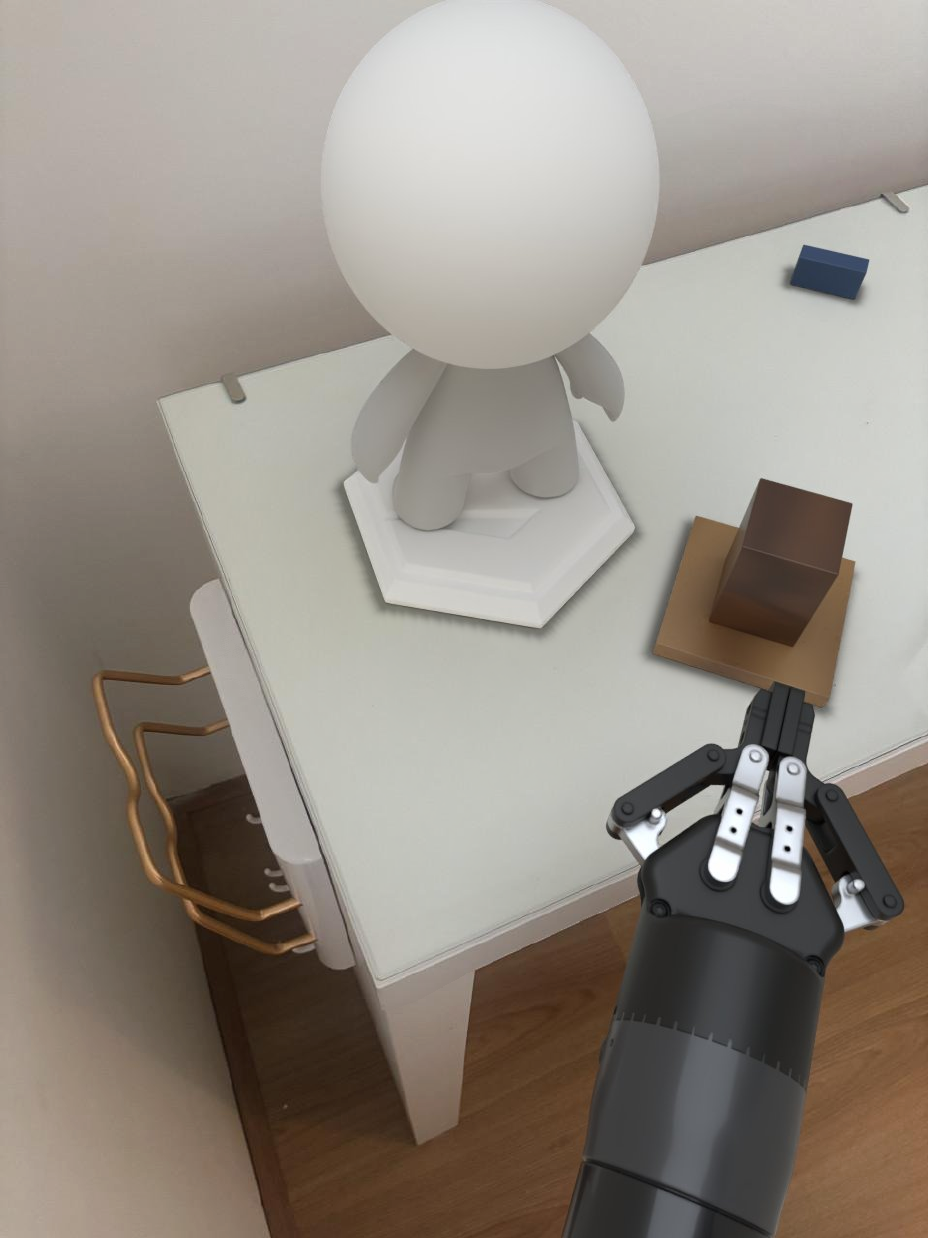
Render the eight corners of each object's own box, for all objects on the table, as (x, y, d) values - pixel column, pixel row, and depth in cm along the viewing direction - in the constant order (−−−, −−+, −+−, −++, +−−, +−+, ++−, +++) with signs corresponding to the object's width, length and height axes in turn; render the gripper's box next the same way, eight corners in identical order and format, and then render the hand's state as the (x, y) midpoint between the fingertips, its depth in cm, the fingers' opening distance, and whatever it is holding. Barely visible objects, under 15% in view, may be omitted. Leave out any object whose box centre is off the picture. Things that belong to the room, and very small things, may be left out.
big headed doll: (550, 380, 79) (605, -105, 49) (666, 591, 68) (828, 127, 38) (325, 436, 76) (238, -50, 46) (408, 668, 64) (363, 225, 34)
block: (848, 572, 69) (906, 481, 60) (822, 707, 63) (882, 629, 54) (691, 526, 71) (725, 432, 62) (652, 653, 65) (682, 569, 56)
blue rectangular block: (857, 286, 86) (869, 258, 83) (854, 299, 85) (866, 272, 82) (793, 271, 87) (803, 243, 84) (789, 284, 86) (799, 256, 83)
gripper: (920, 1133, 31) (963, 701, 39) (548, 986, 33) (664, 609, 42) (841, 1141, 37) (892, 768, 46) (533, 1017, 40) (636, 684, 48)
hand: (783, 692), depth 44 cm, fingers closed
